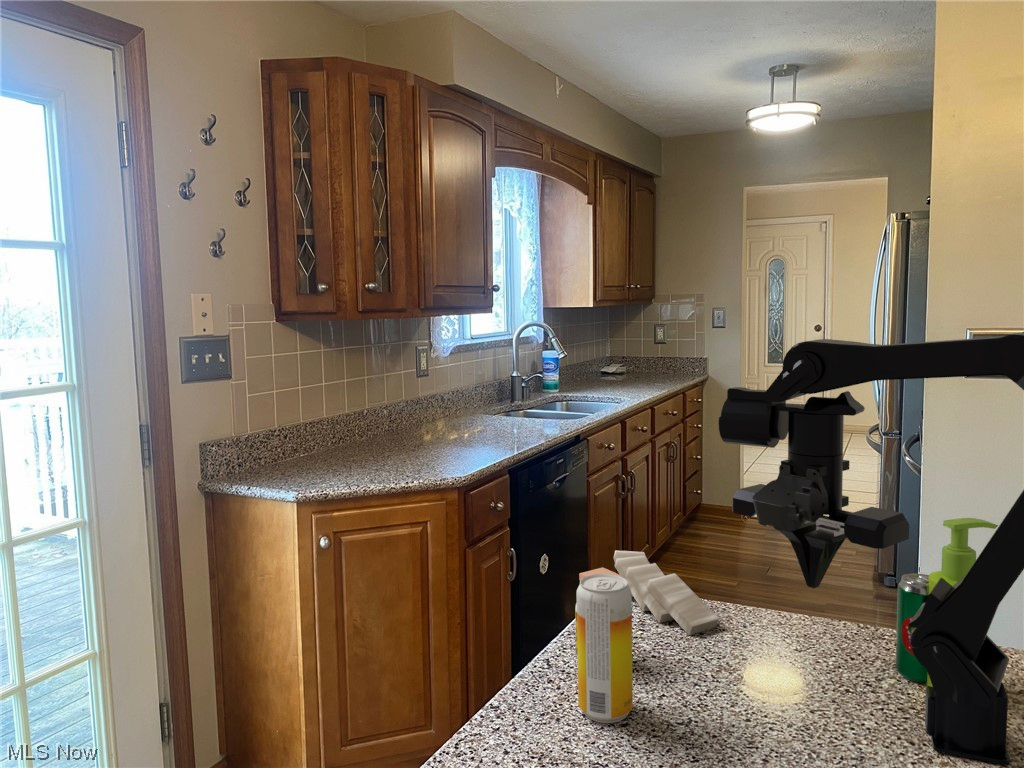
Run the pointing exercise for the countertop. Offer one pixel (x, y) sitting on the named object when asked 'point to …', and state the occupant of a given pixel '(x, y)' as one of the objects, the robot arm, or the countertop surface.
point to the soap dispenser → (957, 554)
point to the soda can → (908, 603)
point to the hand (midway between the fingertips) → (813, 587)
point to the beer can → (604, 647)
